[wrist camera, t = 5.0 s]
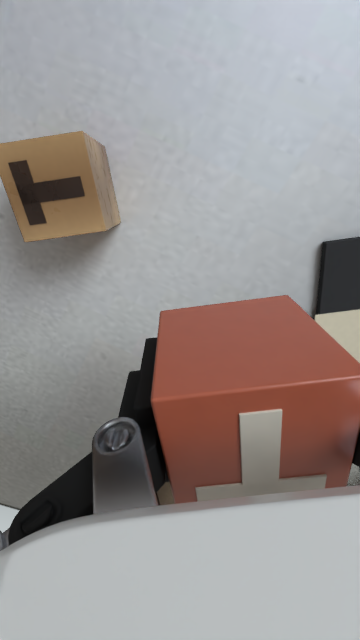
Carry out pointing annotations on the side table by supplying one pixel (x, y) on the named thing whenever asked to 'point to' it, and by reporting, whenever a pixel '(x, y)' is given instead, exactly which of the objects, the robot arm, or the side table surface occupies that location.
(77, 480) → the robot arm
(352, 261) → the word mat
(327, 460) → the terracotta block
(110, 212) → the maple block
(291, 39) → the side table surface
